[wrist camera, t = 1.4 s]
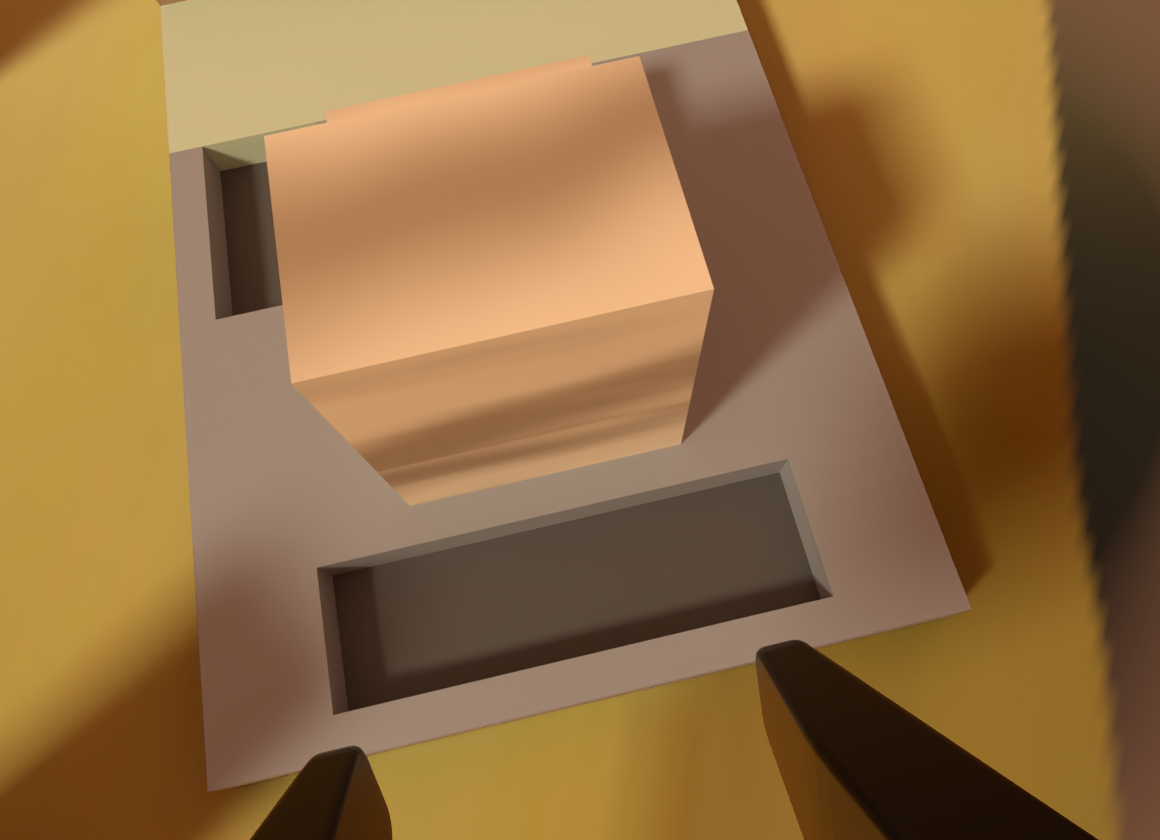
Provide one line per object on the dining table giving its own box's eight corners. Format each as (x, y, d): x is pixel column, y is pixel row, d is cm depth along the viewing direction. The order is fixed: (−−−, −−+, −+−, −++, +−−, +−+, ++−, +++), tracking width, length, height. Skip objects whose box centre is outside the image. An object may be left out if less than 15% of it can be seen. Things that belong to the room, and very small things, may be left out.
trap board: (947, 617, 21) (971, 609, 19) (236, 787, 20) (207, 792, 19) (741, 66, 27) (748, 30, 26) (193, 184, 26) (169, 153, 25)
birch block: (681, 444, 21) (714, 289, 14) (410, 506, 21) (291, 383, 13) (592, 132, 24) (580, -130, 17) (359, 182, 24) (242, -61, 17)
